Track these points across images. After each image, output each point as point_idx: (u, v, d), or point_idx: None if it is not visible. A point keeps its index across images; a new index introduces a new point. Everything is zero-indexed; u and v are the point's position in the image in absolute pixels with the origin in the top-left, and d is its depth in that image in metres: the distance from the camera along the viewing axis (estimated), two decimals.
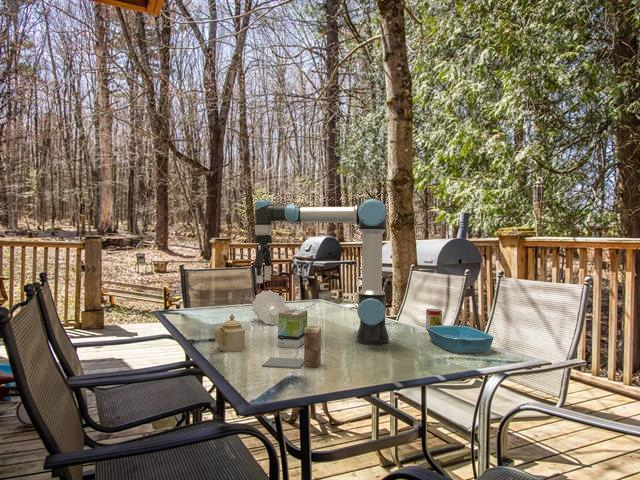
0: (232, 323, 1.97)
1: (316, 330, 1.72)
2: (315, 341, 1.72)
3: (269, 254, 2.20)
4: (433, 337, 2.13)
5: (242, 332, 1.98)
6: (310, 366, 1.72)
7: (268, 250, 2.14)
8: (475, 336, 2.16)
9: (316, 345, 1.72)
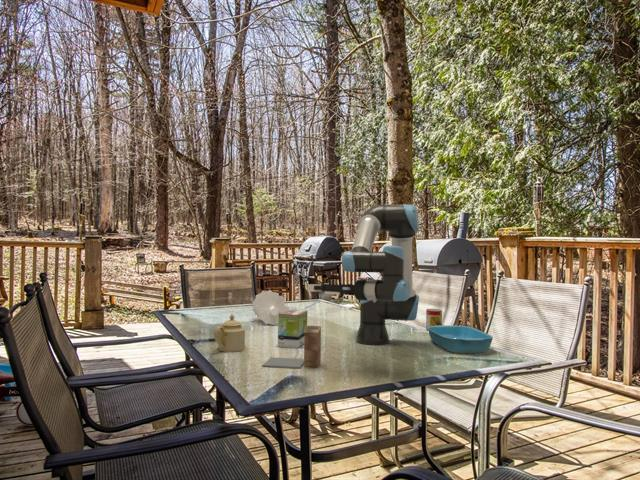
0: (232, 323, 1.97)
1: (316, 330, 1.72)
2: (315, 341, 1.72)
3: (336, 285, 1.71)
4: (433, 337, 2.14)
5: (242, 332, 1.98)
6: (310, 366, 1.72)
7: (348, 284, 1.74)
8: (475, 336, 2.16)
9: (316, 345, 1.72)
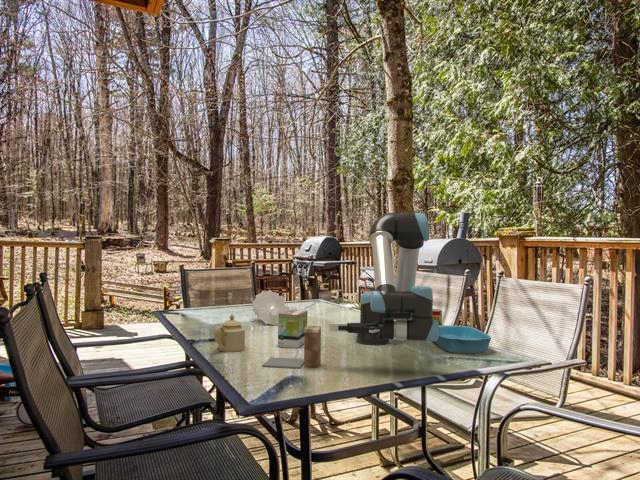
0: (232, 323, 1.97)
1: (316, 330, 1.72)
2: (315, 341, 1.72)
3: (363, 327, 1.68)
4: None
5: (242, 332, 1.98)
6: (310, 366, 1.72)
7: (374, 323, 1.71)
8: (476, 336, 2.15)
9: (316, 345, 1.72)
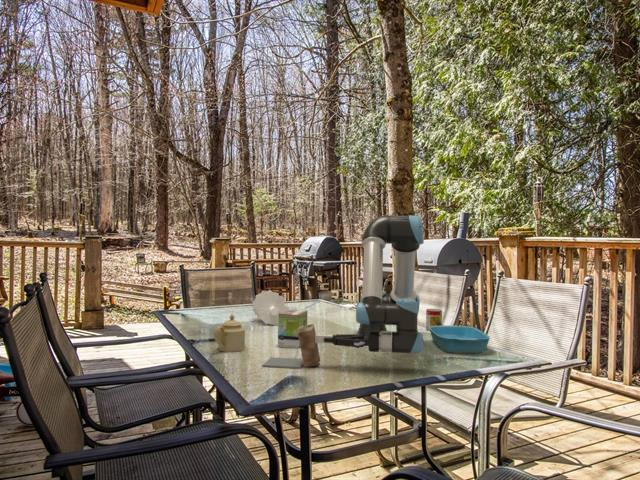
0: (232, 323, 1.97)
1: (309, 328, 1.72)
2: (310, 339, 1.72)
3: None
4: (432, 336, 2.15)
5: (242, 332, 1.98)
6: (310, 365, 1.72)
7: (360, 335, 1.72)
8: (477, 337, 2.15)
9: (312, 343, 1.72)
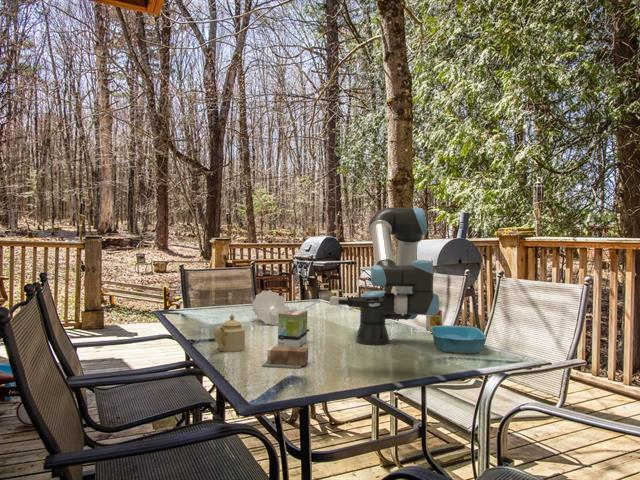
0: (232, 323, 1.97)
1: (268, 351, 1.75)
2: (279, 352, 1.74)
3: (364, 301, 1.68)
4: None
5: (242, 332, 1.98)
6: (303, 358, 1.73)
7: (375, 297, 1.70)
8: (478, 337, 2.13)
9: (282, 352, 1.74)
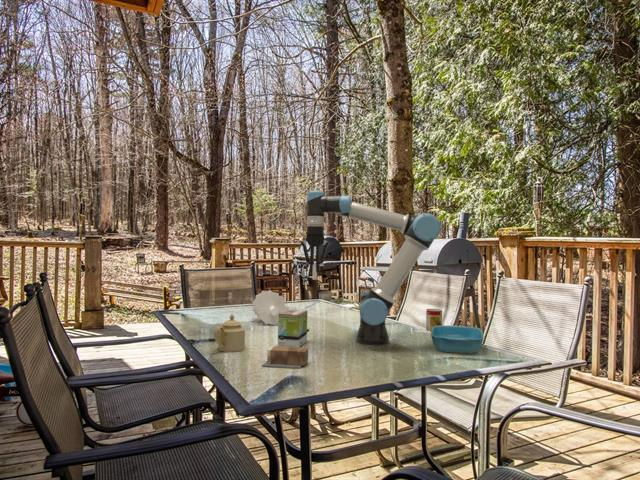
0: (232, 323, 1.97)
1: (268, 351, 1.75)
2: (279, 352, 1.74)
3: None
4: (433, 335, 2.17)
5: (242, 332, 1.98)
6: (303, 358, 1.73)
7: None
8: (479, 338, 2.12)
9: (282, 352, 1.74)
